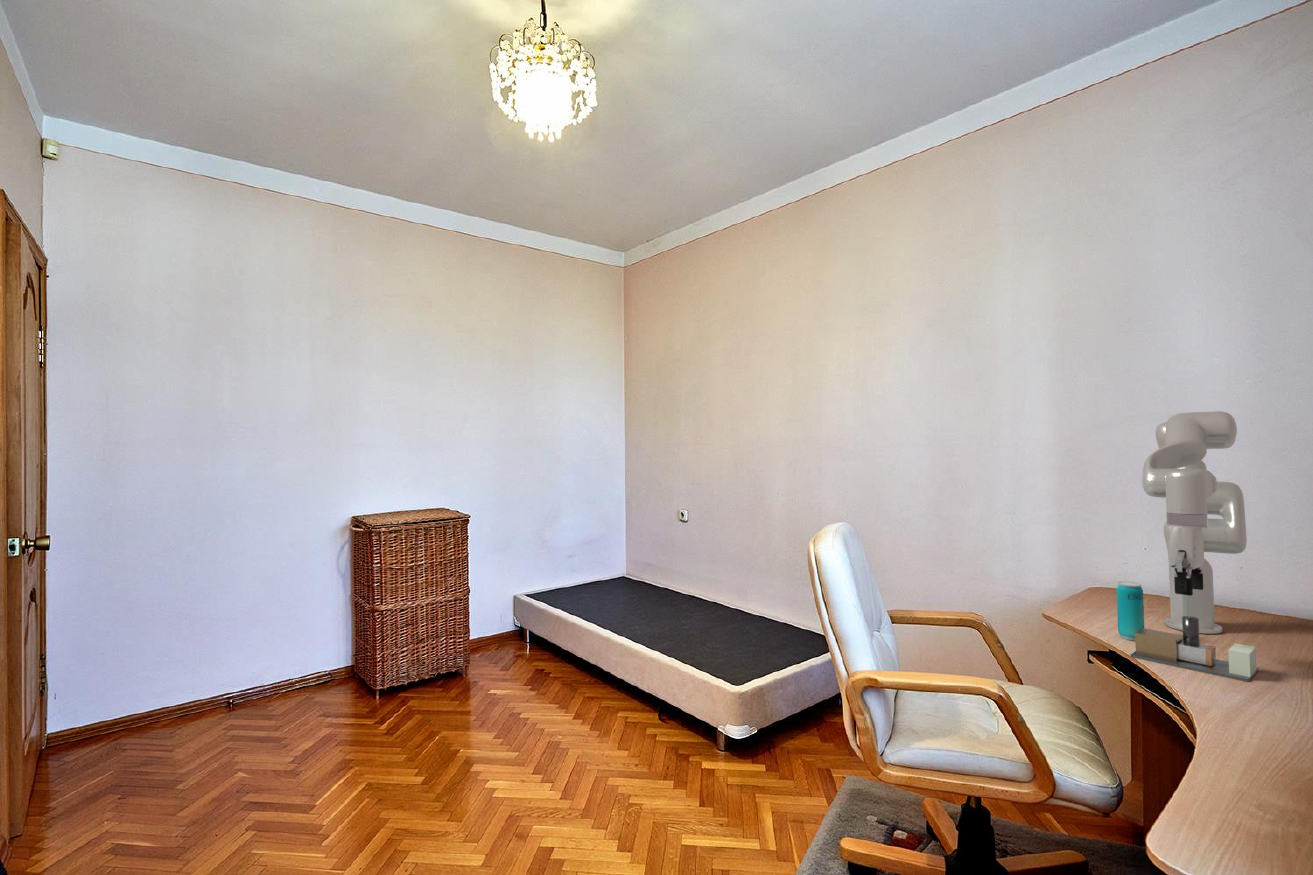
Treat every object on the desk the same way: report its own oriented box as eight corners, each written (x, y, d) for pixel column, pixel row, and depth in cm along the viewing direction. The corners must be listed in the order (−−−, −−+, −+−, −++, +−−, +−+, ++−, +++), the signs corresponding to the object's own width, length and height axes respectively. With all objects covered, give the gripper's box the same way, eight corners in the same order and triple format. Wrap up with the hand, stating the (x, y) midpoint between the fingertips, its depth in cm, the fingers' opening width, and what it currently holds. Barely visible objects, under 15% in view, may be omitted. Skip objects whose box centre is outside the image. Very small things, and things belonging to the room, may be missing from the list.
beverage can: (1149, 642, 164) (1147, 586, 164) (1125, 641, 165) (1123, 585, 165) (1137, 635, 169) (1135, 581, 170) (1113, 634, 171) (1112, 580, 171)
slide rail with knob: (1144, 647, 160) (1143, 625, 160) (1258, 670, 142) (1257, 646, 143) (1130, 656, 153) (1129, 634, 153) (1248, 681, 136) (1247, 656, 136)
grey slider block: (1143, 647, 157) (1142, 608, 157) (1215, 661, 146) (1214, 619, 146) (1138, 650, 154) (1136, 610, 155) (1211, 665, 143) (1210, 622, 144)
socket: (1236, 665, 144) (1235, 643, 144) (1256, 669, 141) (1255, 646, 141) (1229, 672, 140) (1228, 649, 140) (1250, 677, 137) (1249, 653, 137)
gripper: (1177, 517, 156) (1179, 584, 156) (1156, 522, 146) (1159, 594, 145) (1216, 519, 151) (1218, 589, 150) (1197, 524, 140) (1200, 599, 140)
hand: (1189, 591), depth 148 cm, fingers open, 9 cm apart
